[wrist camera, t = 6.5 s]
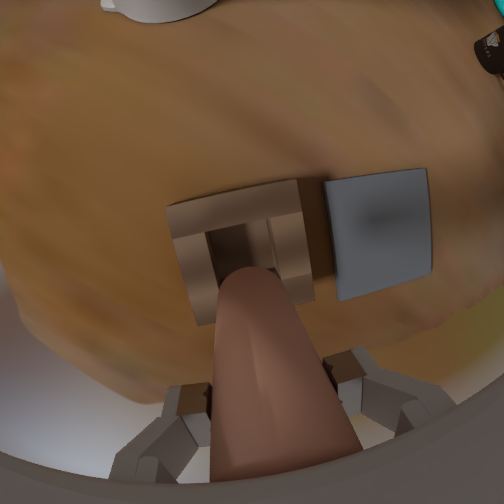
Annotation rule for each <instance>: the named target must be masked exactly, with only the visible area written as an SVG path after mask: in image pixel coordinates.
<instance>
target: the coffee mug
mask: <svg viewBox="0 0 504 504" xmlns="http://www.w3.org/2000/svg"><path fill="white" fill-rule="evenodd" d="M474 50H475V53H476V56H477V58H478V60H479V62H480V64H481V65H482V66H483V68H484V69H485V70H486V71H487V72H489V73H491V74H498V73H499V74H500V75H501V77H502V78H503V80H504V75H503V74H502V73H504V25H503V26H502V27H500V28H498V29H497V30H495V31H493V32H491V33H490V34H488V35H486V36H485V37H483V38H482V39H480V40H478V41H477V42H475V44H474Z"/></svg>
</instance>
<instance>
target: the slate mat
mask: <svg viewBox="0 0 504 504" xmlns="http://www.w3.org/2000/svg"><path fill="white" fill-rule="evenodd" d="M322 183H323V189H324V195H325V201H326V207H327V214H328V221H329V228H330V235H331V243H332V250H333V259H334V267H335V277H336V286H337V297H338V299H339V300H340V301H343V300H347V299H351V298H354V297H358V296H361V295H365V294H368V293H371V292H375V291H378V290H382V289H385V288H388V287H391V286H395V285H398V284H401V283H404V282H407V281H410V280H413V279H416V278H419V277H422V276H425V275H428V274H431V224H430V208H429V196H428V186H427V177H426V169H425V168H419V169H410V170H401V171H393V172H386V173H378V174H371V175H364V176H357V177H350V178H344V179H337V180H331V181H325V182H322Z"/></svg>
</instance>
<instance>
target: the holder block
mask: <svg viewBox="0 0 504 504" xmlns="http://www.w3.org/2000/svg"><path fill="white" fill-rule="evenodd" d="M165 211H166V215H167V220H168V224H169V228H170V232H171V236H172V239H173V243H174V247H175V251H176V255H177V258H178V262H179V266H180V269H181V273H182V276H183V280H184V283H185V287H186V290H187V293H188V297H189V300H190V303H191V306H192V310H193V313H194V316H195V319H196V322H197V326H201V325H206V324H212V323H216V315H217V300H218V292H219V289H220V286H221V284H222V283H223V281H224V280H225V279H226V278H227V277H228V276H229V275H230V274H231V273H233V272H234V271H236V270H239V269H241V268H245V267H261V268H264V269H267V270H269V271H271V272H273V273H274V274H275V275H276V276H277V277H278V278H279V279H280V280H281V282H282V284H283V285H284V287H285V289H286V291H287V293H288V295H289V297H290V299H291V301H292V303H293V305H294V306H295V305H300V304H304V303H308V302H312V301H315V294H314V286H313V279H312V272H311V265H310V258H309V251H308V245H307V238H306V232H305V226H304V220H303V214H302V208H301V202H300V197H299V191H298V186H297V180H296V179H283V180H277V181H272V182H267V183H262V184H257V185H252V186H247V187H242V188H237V189H232V190H228V191H223V192H219V193H214V194H210V195H205V196H201V197H197V198H192V199H188V200H184V201H180V202H176V203H173V204H171V205H169V206H167V207H165Z"/></svg>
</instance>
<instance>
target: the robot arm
mask: <svg viewBox="0 0 504 504" xmlns="http://www.w3.org/2000/svg"><path fill="white" fill-rule="evenodd" d="M216 1H217V0H101V7H102V9H103V10H105V11H113V12H120V13H122V14H124V15H125V16H127V17H128V18H130V19H133V20H135V21H139V22H144V23H164V22H171V21H176V20H180V19H183V18H186V17H189V16H192V15H194V14H196V13H199V12H201V11H203V10H204V9H206V8H208V7H209V6H211V5H212V4H214V3H215V2H216ZM322 364H323V366H324V368H325V370H326V372H327V374H328V377H329V379H330V381H331V383H332V385H333V387H334V389H335V391H336V393H337V395H338V397H339V399H340V401H341V403H342V406H343V408H344V410H345V412H346V414H347V416H352V415H355V414H358V413H362V414H363V415H365V416H367V417H368V418H370V419H372V420H374V421H375V422H377V423H379V424H381V425H382V426H384V427H386V428H388V429H390V430H392V431H393V432H395V436H394V438H393V439H390V440H388V441H386V442H383V443H381V444H379V445H376V446H373V447H371V448H368V449H365V450H363V451H360V452H357V453H354V454H351V455H348V456H345V457H342V458H339V459H336V460H333V461H329V462H326V463H322V464H319V465H315V466H311V467H307V468H303V469H299V470H294V471H290V472H285V473H280V474H275V475H269V476H263V477H257V478H250V479H242V480H234V481H224V482H211V483H191V484H190V483H189V484H179V483H178V482H177V481H176V479H177V478H178V476H179V475H180V474H181V472H182V471H183V470H184V468H185V467H186V465H187V464H188V462H189V461H190V460H191V458H192V457H193V456H194V454H195V453H196V451H197V450H198V447H205V446H210V439H211V409H212V386H211V383H209V382H205V383H197V384H188V385H180V386H170V387H169V388H168V389H167V393H166V398H165V402H164V406H163V411H162V415H161V417H157V418H156V419H155V420H154V421H153V422H152V423H151V424H149V425H148V426H147V427H146V428H145V429H144V430H143V431H142V432H141V433H139V434H138V435H137V436H136V437H135V438H134V439H133V440H132V441H131V442H129V443H128V444H127V445H126V446H125V447H123V448H122V449H121V450H120V451H119V452H118V453H117V454H116V455H115V459H114V462H113V465H112V469H111V472H110V475H109V478H108V479H103V478H96V477H89V476H84V475H79V474H74V473H70V472H65V471H61V470H57V469H52V468H49V467H45V466H42V465H38V464H35V463H32V462H28V461H25V460H22V459H19V458H16V457H13V456H11V455H8V454H6V453H3V452H1V451H0V504H504V373H503V375H501V376H500V377H498V378H497V379H496V380H494V381H493V382H492V383H490V384H489V385H488V386H486V387H484V388H483V389H482V390H480V391H479V392H477V393H476V394H474V395H473V396H471V397H470V398H468V399H467V400H465V401H463V402H462V403H460V404H459V405H456V403H455V402H454V401H453V400H452V399H451V398H450V397H449V396H448V394H446V392H445V391H444V390H443V389H442V388H441V386H439V385H436V384H433V383H429V382H426V381H423V380H419V379H416V378H412V377H410V376H406V375H403V374H400V373H397V372H394V371H391V370H388V369H383V370H381V368H380V367H379V366H378V365H377V363H376V362H375V361H374V359H373V358H372V357H371V356H370V354H369V353H368V351H367V350H366V349H365V347H364V346H362V345H361V346H358V347H355V348H352V349H349V350H347V351H344V352H341V353H337V354H334V355H331V356H327V357H324V358H323V359H322Z"/></svg>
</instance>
